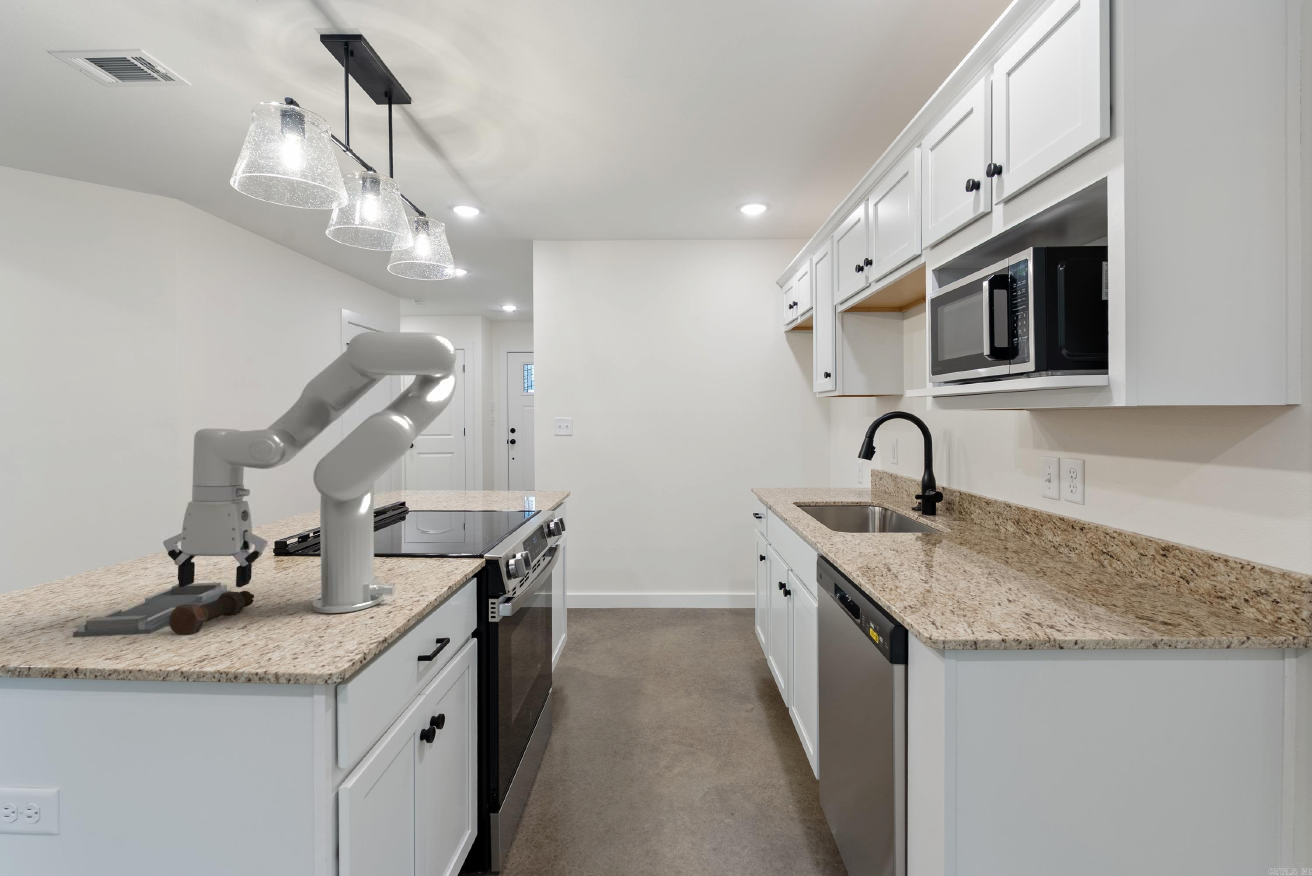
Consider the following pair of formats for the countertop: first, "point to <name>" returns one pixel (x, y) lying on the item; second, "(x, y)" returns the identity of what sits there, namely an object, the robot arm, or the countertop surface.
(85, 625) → the grey shallow tray
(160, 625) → the grey stepped tray
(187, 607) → the bolt
